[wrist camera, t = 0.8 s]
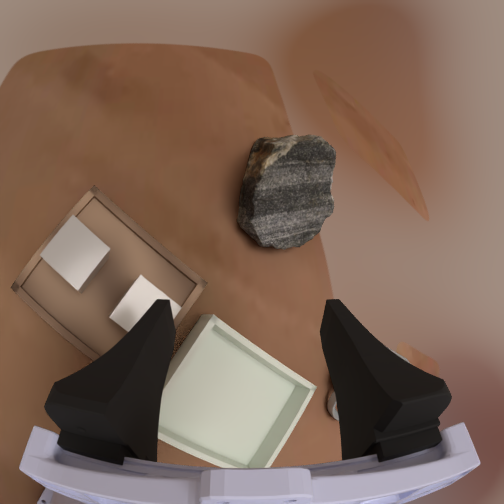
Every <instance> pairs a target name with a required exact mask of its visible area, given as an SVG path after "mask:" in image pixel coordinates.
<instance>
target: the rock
mask: <svg viewBox="0 0 504 504" xmlns="http://www.w3.org/2000/svg"><path fill="white" fill-rule="evenodd" d="M335 159H336V152H335V149H334V148H333V147H332V146H331V145H329V144H328V142H326V141H325V140H324V139H323V138H322V137H320V136H315V135H306V136H300V137H299V136H298V135H290V136H285V137H281V138H269V137H263V138H259V139H257V140H256V143H255V144H254V146H253V148H252V150H251V154H250V158H249V162H248V165H247V169H246V172H245V175H244V178H243V185H242V188H241V193H240V200H239V212H238V218H237V222H238V223H239V224H240V227H241V228H242V229H244V230H245V232H246V233H247V234H249V235H250V236H251V237H252V238H253V239H254V240H255V241H256V242H257V243H258V244H259V245H260V246H262V247H270V246H272V247H274V248H276V249H284V250H285V249H287V248H289V247H300V246H302V245H304V244H305V243H306V242H307V241H309V240H311V239H313V237H314V236H315V235H317V234H318V233H319V232H320V230H321V227H322V224H323V222H324V220H325V219H326V218H327V217H329V216H330V215H331V214H332V213H333V209H334V199H333V196H332V195H331V192H330V190H331V185H332V183H333V180H332V175H333V170H334V167H335Z"/></svg>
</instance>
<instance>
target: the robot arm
mask: <svg viewBox="0 0 504 504" xmlns="http://www.w3.org/2000/svg"><path fill="white" fill-rule="evenodd" d="M175 334H176V330H175V325H174V320H173V314H172V309H171V304H170V299H157V300H156V301H155V302H154V303H153V304H152V305H151V307H150V308H149V309H148V310H147V311H146V313H145V314H144V315H143V316H142V317H141V318H140V320H139V321H138V322H137V323H136V324H135V325H134V326H133V327H132V329H131V330H130V331H129V332H128V333H127V334H126V335H125V336H124V337H123V338H122V339H121V340H120V341H119V342H118V343H117V344H115V345H114V346H113V347H112V348H111V349H110V350H109V351H107V352H106V353H105V354H103V355H102V356H101V357H99V358H98V359H96V360H95V361H94V362H92V363H91V364H89V365H88V366H86V367H84V368H83V369H81V370H79V371H78V372H76V373H74V374H72V375H70V376H68V377H66V378H64V379H61V380H59V381H57V382H55V383H54V385H53V387H52V389H51V391H50V394H49V396H48V398H47V401H46V403H45V406H44V407H45V410H46V412H47V414H48V415H49V417H50V418H51V419H52V420H53V421H54V422H55V423H56V424H57V426H58V427H59V428H60V429H61V432H60V435H58V434H57V433H55V432H53V431H50V430H47V429H44V428H41V427H38V426H34V427H33V430H32V432H31V435H30V438H29V440H28V443H27V446H26V449H25V451H24V454H23V457H22V460H21V463H20V466H19V469H20V470H21V471H22V472H24V473H25V474H26V475H28V476H29V477H31V478H32V479H34V480H35V481H37V482H38V483H40V484H41V485H43V486H44V487H46V488H45V489H44V491H43V493H42V495H41V496H40V498H39V500H38V502H37V504H404V503H406V502H409V501H412V500H414V499H417V498H419V497H422V496H425V495H427V494H429V493H432V492H434V491H437V490H439V489H441V488H444V487H446V486H449V485H451V484H452V483H454V482H455V481H457V480H458V479H460V478H462V477H463V476H465V475H466V474H467V473H469V472H470V471H472V470H473V469H474V468H476V467H477V466H478V465H479V464H480V461H479V459H478V456H477V453H476V450H475V448H474V445H473V443H472V440H471V438H470V435H469V433H468V431H467V428H466V426H465V424H464V423H463V422H462V423H459V424H456V425H453V426H451V427H448V428H445V429H443V430H442V431H440V432H439V429H438V426H439V425H440V421H439V419H438V417H439V416H440V415H441V414H442V412H443V411H444V410H445V409H446V408H447V406H448V405H449V403H450V401H451V398H452V396H451V393H450V391H449V389H448V387H447V385H446V383H445V381H444V380H443V379H440V378H438V377H436V376H433V375H431V374H429V373H426V372H424V371H423V370H421V369H419V368H417V367H415V366H413V365H412V364H410V363H408V362H407V361H405V360H404V359H402V358H401V357H399V356H398V355H396V354H395V353H393V352H392V351H391V350H390V349H388V348H387V347H386V346H384V345H383V344H382V343H381V342H380V341H378V340H377V339H376V338H375V337H374V336H373V335H372V334H371V333H370V332H369V331H368V330H367V329H366V328H365V327H364V326H363V325H362V324H361V323H360V322H359V321H358V320H357V319H356V318H355V317H354V315H353V314H352V313H351V312H350V311H349V310H348V309H347V307H346V306H345V305H344V304H343V303H342V302H341V301H340V300H339V299H330V300H326V305H325V310H324V315H323V319H322V324H321V328H320V336H321V342H322V348H323V352H324V356H325V359H326V363H327V366H328V370H329V373H330V377H331V380H332V383H333V387H334V391H335V396H336V402H337V409H338V416H339V424H340V434H341V447H342V461H336V462H329V463H321V464H312V465H303V466H291V467H271V468H213V467H197V466H185V465H175V464H167V463H159V462H157V441H158V426H159V415H160V406H161V398H162V393H163V388H164V384H165V380H166V376H167V372H168V369H169V365H170V361H171V357H172V353H173V349H174V342H175ZM42 500H45V501H46V502H44V501H42Z"/></svg>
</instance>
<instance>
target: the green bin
mask: <svg viewBox="0 0 504 504" xmlns="http://www.w3.org/2000/svg"><path fill="white" fill-rule="evenodd" d="M316 388H317V387H316V386H315V385H313V384H312V383H310V382H309V381H307V380H305V379H304V378H302V377H301V376H299V375H298V374H296V373H295V372H293V371H292V370H290V369H289V368H287V367H286V366H284V365H283V364H282V363H280V362H279V361H277V360H276V359H274V358H273V357H271V356H270V355H268V354H267V353H266V352H264V351H263V350H261V349H260V348H258V347H257V346H256V345H254V344H253V343H251V342H250V341H249V340H247V339H246V338H245V337H243V336H242V335H240V334H239V333H238V332H236V331H235V330H234V329H232V328H231V327H229V326H228V325H227V324H225V323H224V322H223V321H221V320H220V319H219V318H217V317H216V316H215V315H213V314H202V315H201V316H200V318H199V319H198V321H197V322H196V324H195V325H194V327H193V328H192V330H191V331H190V333H189V334H188V336H187V337H186V339H185V340H184V342H183V343H182V345H181V346H180V348H179V349H178V351H177V352H176V354H175V355H174V357H173V358H172V360H171V361H170V365H169V369H168V372H167V376H166V380H165V384H164V388H163V393H162V398H161V406H160V415H159V426H158V439H160V440H162V441H164V442H166V443H168V444H170V445H172V446H174V447H176V448H178V449H180V450H183V451H185V452H187V453H189V454H191V455H194V456H196V457H198V458H200V459H203V460H205V461H207V462H210V463H212V464H215V465H217V466H220V467H222V468H269V467H270V466H271V464H272V463H273V461H274V460H275V458H276V457H277V455H278V453H279V452H280V450H281V449H282V447H283V445H284V444H285V442H286V441H287V439H288V437H289V436H290V434H291V432H292V431H293V429H294V427H295V425H296V424H297V422H298V420H299V419H300V417H301V415H302V413H303V412H304V410H305V408H306V406H307V404H308V403H309V401H310V399H311V397H312V395H313V393H314V391H315V390H316Z"/></svg>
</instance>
